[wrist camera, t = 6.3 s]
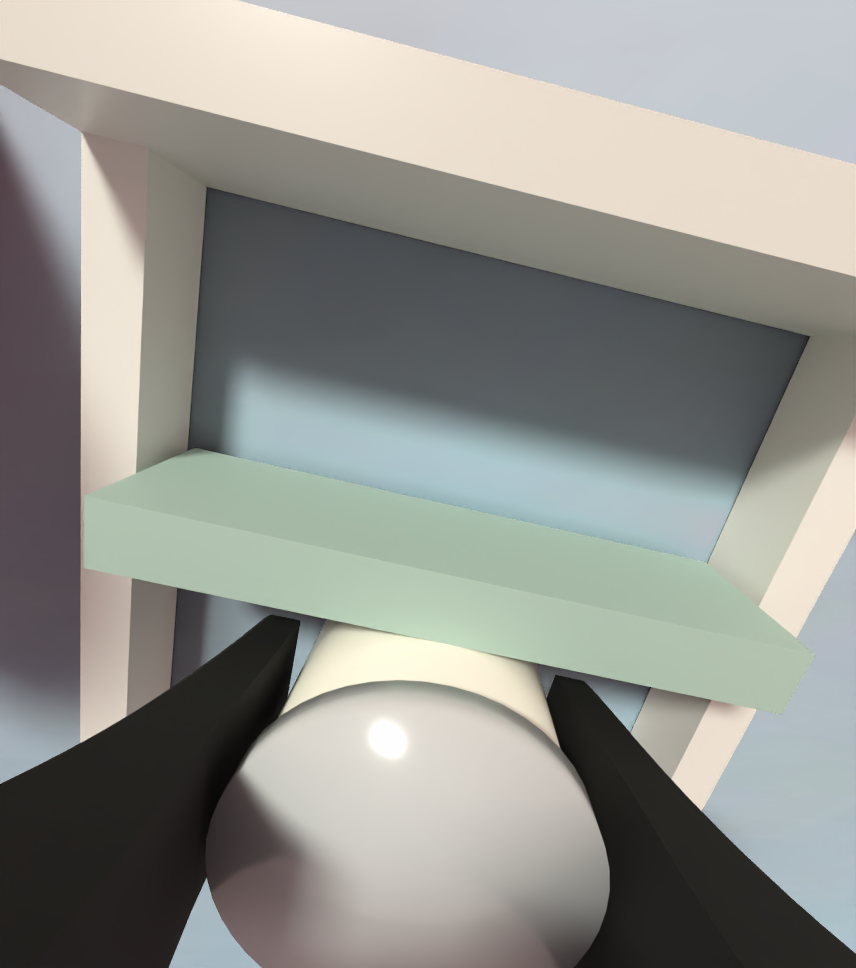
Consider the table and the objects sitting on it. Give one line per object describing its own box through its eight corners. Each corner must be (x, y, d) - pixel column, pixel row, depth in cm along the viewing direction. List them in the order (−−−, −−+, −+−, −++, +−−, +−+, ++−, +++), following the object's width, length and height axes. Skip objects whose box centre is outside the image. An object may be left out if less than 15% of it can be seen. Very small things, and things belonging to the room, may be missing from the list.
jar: (298, 719, 12) (186, 976, 7) (336, 525, 11) (230, 667, 5) (503, 766, 12) (541, 1057, 7) (566, 579, 11) (671, 771, 6)
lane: (130, 719, 12) (-9, 887, 9) (155, 111, 8) (-86, -86, 4) (629, 818, 13) (707, 1016, 9) (883, 295, 9) (1216, 260, 5)
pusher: (190, 499, 10) (83, 568, 7) (194, 447, 10) (83, 495, 7) (683, 607, 11) (782, 714, 8) (703, 561, 10) (815, 654, 7)
